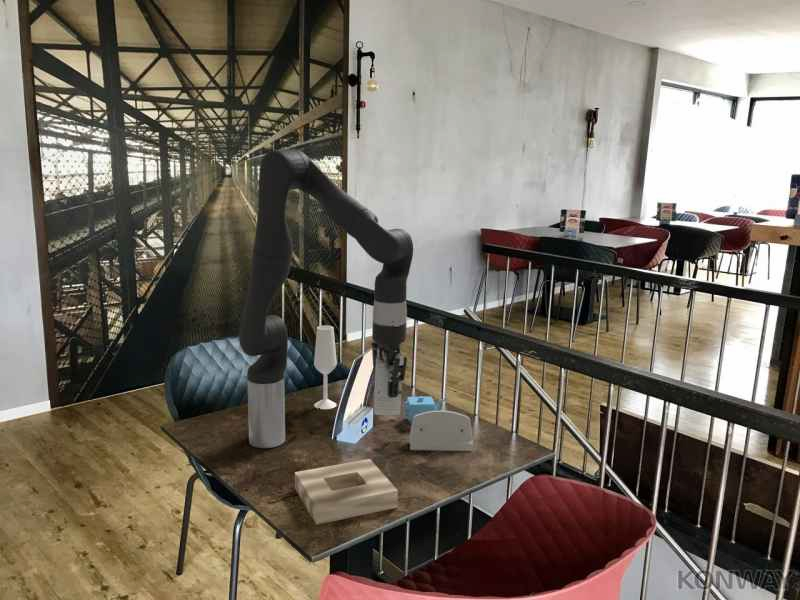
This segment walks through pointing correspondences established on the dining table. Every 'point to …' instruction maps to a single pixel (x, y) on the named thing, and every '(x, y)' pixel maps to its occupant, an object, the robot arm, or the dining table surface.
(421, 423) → the grey arched bracket
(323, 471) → the well block
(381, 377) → the skincare box
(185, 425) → the dining table surface
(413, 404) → the light blue box
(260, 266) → the robot arm
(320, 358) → the champagne flute
